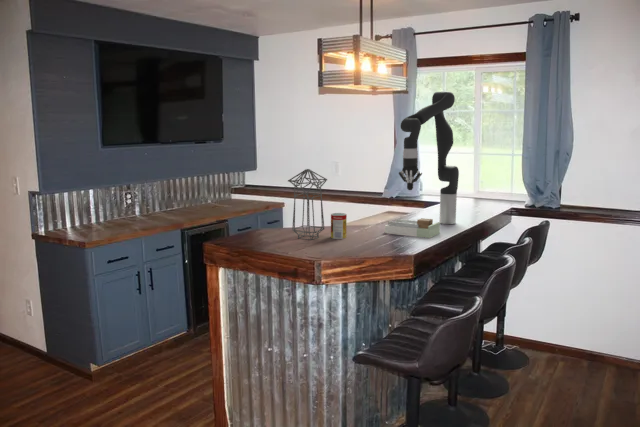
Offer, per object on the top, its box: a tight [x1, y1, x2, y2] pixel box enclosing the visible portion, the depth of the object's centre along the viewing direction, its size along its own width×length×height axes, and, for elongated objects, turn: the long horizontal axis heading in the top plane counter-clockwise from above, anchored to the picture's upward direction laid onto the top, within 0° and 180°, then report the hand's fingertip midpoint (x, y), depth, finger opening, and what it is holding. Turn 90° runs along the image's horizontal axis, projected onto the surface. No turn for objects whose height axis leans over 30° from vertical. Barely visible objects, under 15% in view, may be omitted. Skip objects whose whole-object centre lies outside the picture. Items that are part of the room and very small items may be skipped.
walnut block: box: [416, 218, 434, 229], centre depth 285 cm, size 6×6×4 cm
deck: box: [384, 221, 441, 239], centre depth 289 cm, size 14×25×6 cm, turn 57°
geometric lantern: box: [287, 168, 328, 241], centre depth 274 cm, size 16×16×35 cm
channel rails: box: [387, 218, 419, 228], centre depth 290 cm, size 10×17×2 cm, turn 57°
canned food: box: [330, 212, 348, 240], centre depth 278 cm, size 8×8×12 cm
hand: (410, 189), depth 291 cm, fingers closed
